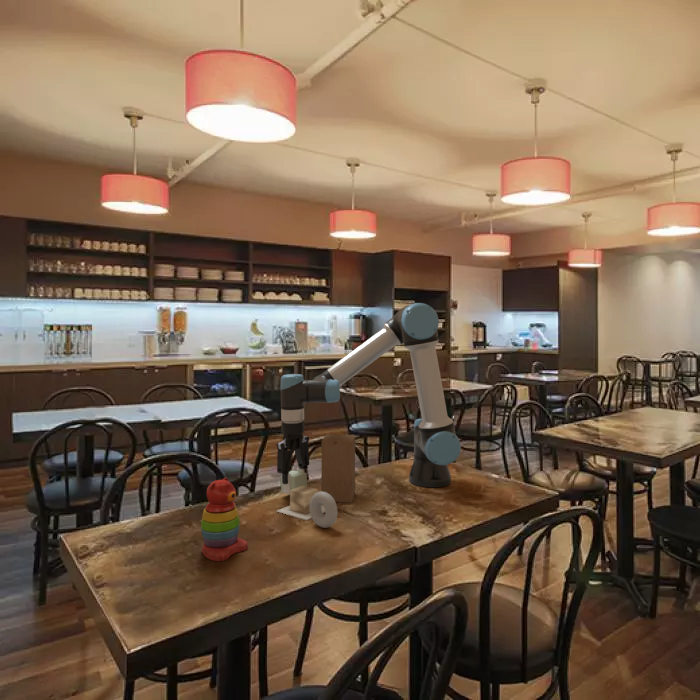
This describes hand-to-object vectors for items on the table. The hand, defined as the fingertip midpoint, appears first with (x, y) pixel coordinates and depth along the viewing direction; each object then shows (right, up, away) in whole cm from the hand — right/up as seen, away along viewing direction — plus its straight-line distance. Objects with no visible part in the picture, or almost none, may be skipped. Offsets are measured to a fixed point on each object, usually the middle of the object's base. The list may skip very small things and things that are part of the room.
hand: (294, 490), depth 173 cm
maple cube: (+4, -2, -14) cm, 14 cm away
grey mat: (+5, -2, -13) cm, 14 cm away
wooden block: (+15, -2, -1) cm, 15 cm away
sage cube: (0, 0, 0) cm, 0 cm away
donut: (+11, -3, -27) cm, 29 cm away
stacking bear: (-14, -4, -42) cm, 44 cm away
